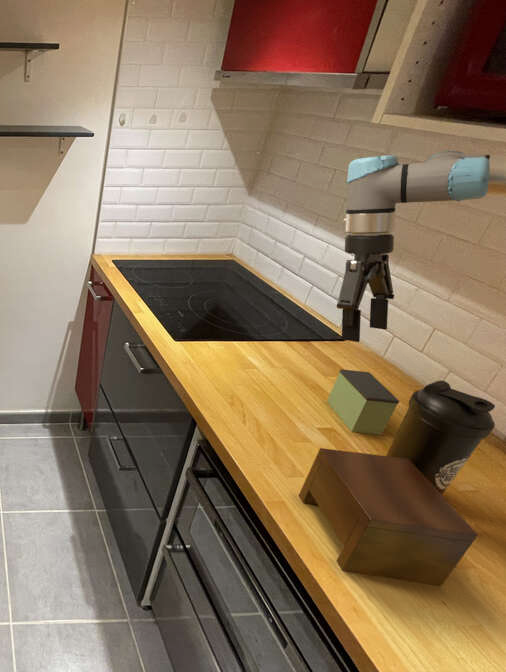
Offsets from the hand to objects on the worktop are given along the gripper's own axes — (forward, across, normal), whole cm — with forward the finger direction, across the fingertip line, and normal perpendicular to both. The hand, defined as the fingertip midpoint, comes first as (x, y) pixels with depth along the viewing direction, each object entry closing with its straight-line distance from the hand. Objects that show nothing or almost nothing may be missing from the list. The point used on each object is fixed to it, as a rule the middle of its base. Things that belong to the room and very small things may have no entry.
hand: (364, 334), depth 94 cm
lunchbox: (+22, -6, -4) cm, 23 cm away
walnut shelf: (+29, +26, +10) cm, 40 cm away
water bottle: (+27, +8, +10) cm, 30 cm away
